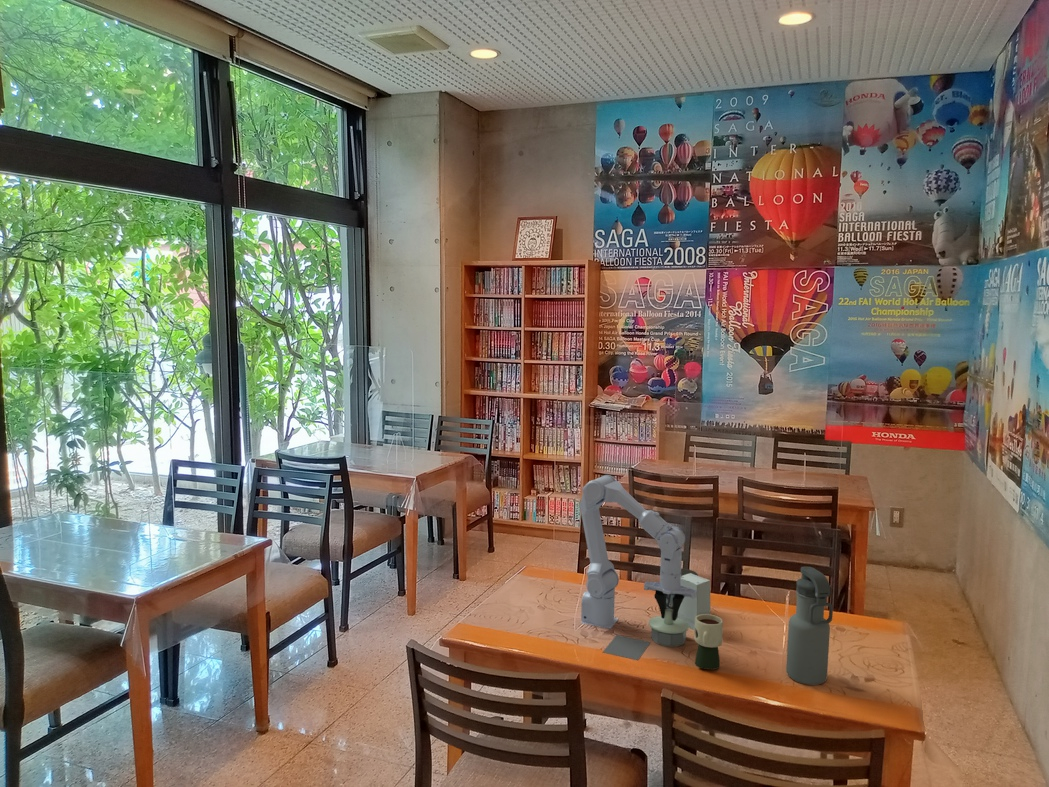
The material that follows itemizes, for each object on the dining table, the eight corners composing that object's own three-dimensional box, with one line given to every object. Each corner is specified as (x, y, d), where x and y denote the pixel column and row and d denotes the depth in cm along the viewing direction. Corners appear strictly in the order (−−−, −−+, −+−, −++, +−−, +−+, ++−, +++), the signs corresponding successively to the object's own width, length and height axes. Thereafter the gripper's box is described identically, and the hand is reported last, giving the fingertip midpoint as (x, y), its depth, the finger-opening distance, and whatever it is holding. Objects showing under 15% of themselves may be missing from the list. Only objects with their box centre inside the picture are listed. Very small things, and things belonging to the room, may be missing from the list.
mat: (602, 654, 197) (602, 652, 197) (616, 636, 208) (616, 634, 208) (637, 662, 193) (637, 660, 193) (650, 643, 204) (650, 641, 204)
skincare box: (710, 629, 214) (712, 580, 212) (696, 634, 210) (698, 584, 209) (689, 619, 221) (691, 571, 219) (675, 623, 217) (677, 575, 216)
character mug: (697, 655, 197) (699, 609, 196) (724, 660, 195) (726, 613, 193) (689, 673, 188) (691, 624, 186) (717, 679, 185) (719, 630, 183)
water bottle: (836, 685, 182) (842, 577, 179) (801, 689, 180) (807, 580, 177) (811, 665, 192) (817, 563, 189) (778, 669, 190) (783, 565, 187)
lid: (643, 627, 203) (643, 612, 202) (656, 615, 212) (657, 600, 212) (681, 636, 197) (682, 620, 197) (693, 624, 207) (694, 608, 206)
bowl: (648, 644, 204) (648, 630, 203) (657, 631, 212) (657, 618, 211) (680, 651, 200) (680, 637, 199) (687, 638, 208) (688, 624, 207)
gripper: (641, 571, 203) (640, 618, 204) (693, 580, 197) (691, 628, 198) (648, 564, 209) (647, 609, 211) (699, 572, 203) (697, 618, 204)
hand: (669, 618), depth 205 cm, fingers closed on lid, 3 cm apart
